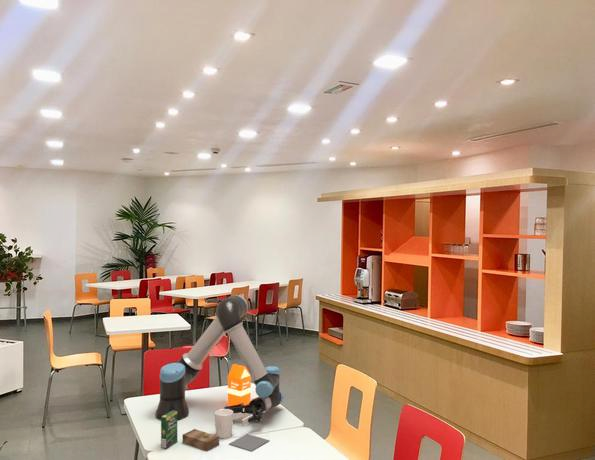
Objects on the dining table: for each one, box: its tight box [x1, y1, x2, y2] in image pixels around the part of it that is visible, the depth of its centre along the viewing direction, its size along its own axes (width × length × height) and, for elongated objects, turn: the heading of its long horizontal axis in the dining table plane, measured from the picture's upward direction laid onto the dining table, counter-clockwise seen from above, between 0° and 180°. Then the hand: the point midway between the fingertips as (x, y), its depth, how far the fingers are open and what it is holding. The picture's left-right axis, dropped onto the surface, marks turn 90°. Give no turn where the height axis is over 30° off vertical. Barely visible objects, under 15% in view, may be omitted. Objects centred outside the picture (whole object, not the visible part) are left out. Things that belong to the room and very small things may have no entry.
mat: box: [228, 433, 270, 453], centre depth 210 cm, size 12×12×1 cm
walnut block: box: [182, 428, 220, 452], centre depth 209 cm, size 14×7×5 cm, turn 57°
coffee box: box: [160, 410, 178, 450], centre depth 208 cm, size 8×3×13 cm, turn 159°
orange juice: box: [227, 363, 252, 406], centre depth 256 cm, size 8×9×20 cm
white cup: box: [214, 408, 234, 439], centre depth 218 cm, size 8×8×10 cm
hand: (230, 419), depth 220 cm, fingers open, 13 cm apart
